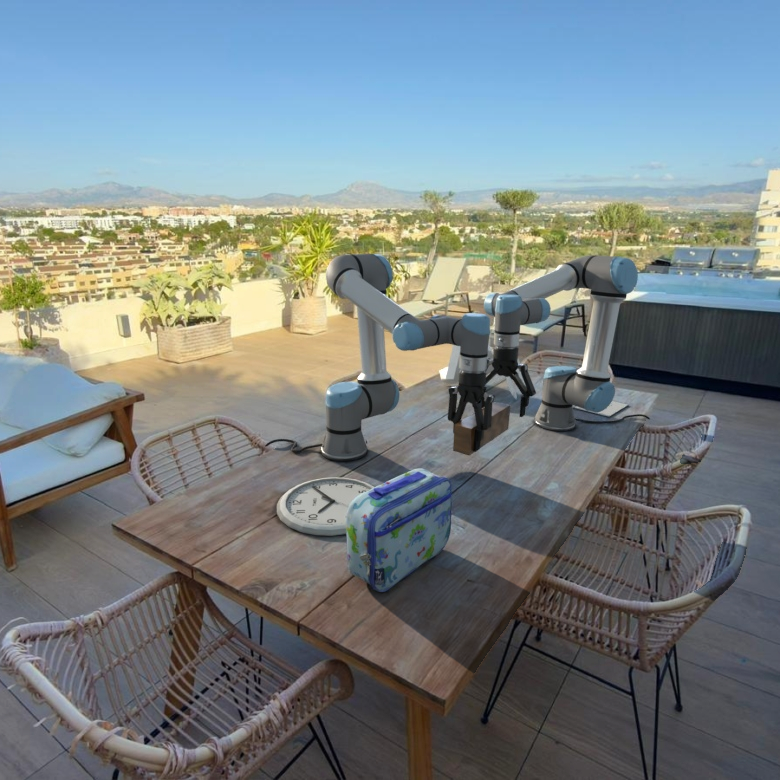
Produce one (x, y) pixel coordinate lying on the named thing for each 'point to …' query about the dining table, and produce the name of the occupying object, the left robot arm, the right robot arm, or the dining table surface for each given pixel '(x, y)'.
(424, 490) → the lunch box
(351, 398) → the left robot arm
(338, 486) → the wall clock
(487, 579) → the dining table surface
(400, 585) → the dining table surface
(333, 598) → the dining table surface
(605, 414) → the invitation card
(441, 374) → the white plastic object
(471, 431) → the bar
